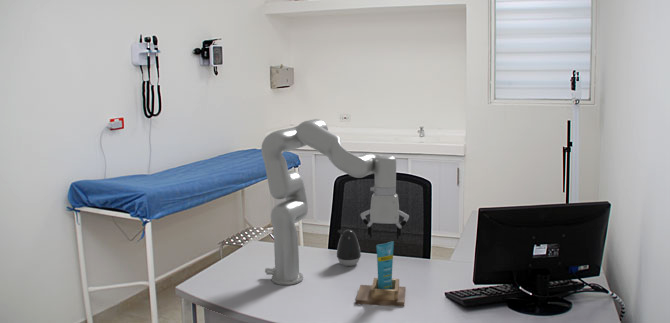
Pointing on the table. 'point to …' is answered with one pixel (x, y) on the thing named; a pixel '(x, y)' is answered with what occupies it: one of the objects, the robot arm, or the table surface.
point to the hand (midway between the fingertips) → (384, 237)
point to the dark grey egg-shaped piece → (348, 248)
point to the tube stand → (381, 294)
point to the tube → (385, 265)
